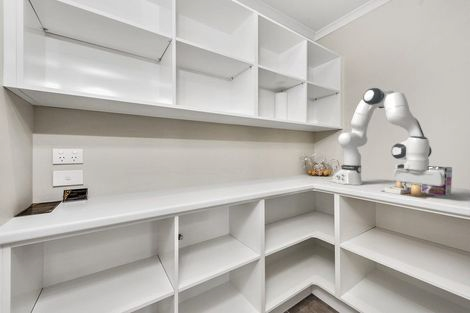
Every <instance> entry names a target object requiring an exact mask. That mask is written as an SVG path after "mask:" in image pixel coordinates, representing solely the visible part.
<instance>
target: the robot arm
mask: <svg viewBox="0 0 470 313" xmlns="http://www.w3.org/2000/svg"><path fill="white" fill-rule="evenodd" d="M377 108H379V109H384V112H385V117H386V120H387V122H388V123H389V124H392V125H394V126H397V127H400V128H403V129H405V130H406V131H407V133H408V134H409V136H408V138H406V140H404V141H402V142H401V141H400V142H397V143H395V144H394V145H393V146H392V147H391V155H392V157H394V159H397V160H406V162H402V163H398V164H395V166H394V168H395V169H394V171H393V173H392V180H393V181H394V182H397V181H400V182H402V185H403V186H404V190H407V191H408V190H409V188H410V187H409V186H407V185H406V184H408V183H409V184H419V185H422V184H425V185H427V187H428V189H427V190H424V191H423V194H428V195H430V192H429V190H430V189H431V188H432V186H443V185H444V175H445V171H444V170H443V169H442V170H441V168H439V167H440V166H437V168H436V167H429V166H430V158H429V157H430V156H431V155H432V153H433V152H432V147H431V146H430V140H429V138H428V137H426V136H425V134H424V132H423V130H422V129H423V128H422V127H421V124H420V122H419V120H418V119H417V118H416V117H415V116H414V115H413V114H412V112H411V110H410V107H409V103H408V101H407V98H406V94H404V92H400V91H397V92H396V91H393V90H389V89H387V88H386V89H384V88H378V87H370V88H368V89H367V90H366V91H365V92H364V93H363V97H362V99H361V100H360V101H359V103H358V105H356V108H355V111H354V114H353V116H352V119H351V121H350V125H351V131H347V132H343V133H341V134H339V135H338V138H337V140H338V141H337V142H338V143H339V145H340V146H341V149H342V152H343V164H342V165H340V168H341V169H340V170H338V171H336V172H334V174H333V176H332V179H330V180H329V182H332V183H337V184H340V185H341V184H342V185H350V186H351V185H353V186H360V185H364V183H363V180H362V165H361V164H362V163H361V162H362V161H361V160H362V154H361V153H360V152H359V148H360V147H363V146H365V145H366V144H367V142H368V136H367V131H368V126H369V123H370V121H371V119H372V116H373V113H374V111H375V110H376V109H377ZM435 169H437V170H435Z"/></svg>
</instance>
